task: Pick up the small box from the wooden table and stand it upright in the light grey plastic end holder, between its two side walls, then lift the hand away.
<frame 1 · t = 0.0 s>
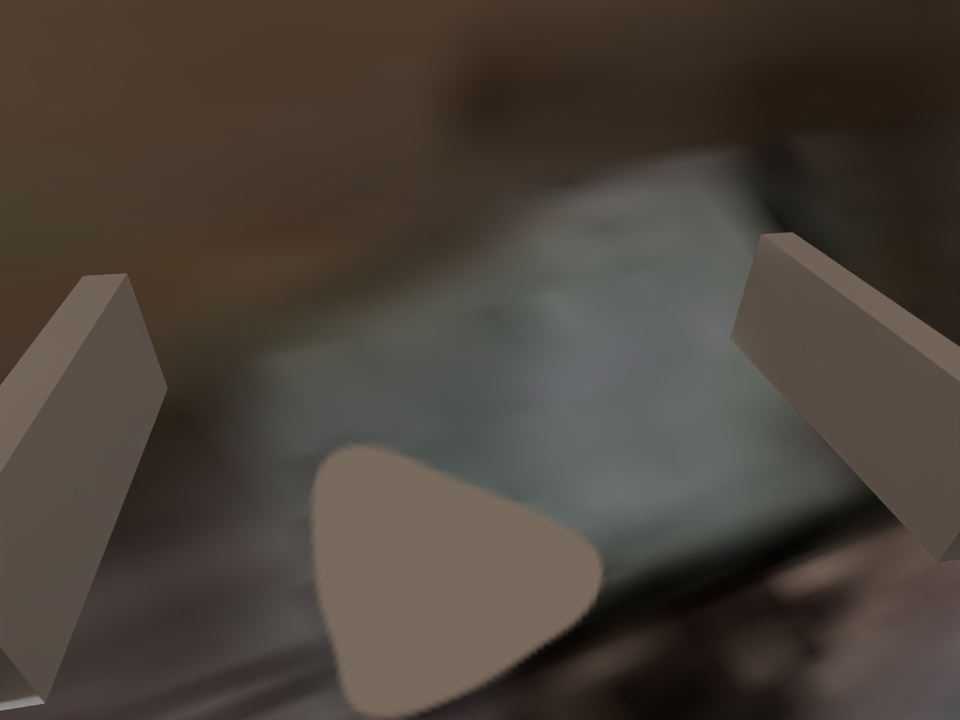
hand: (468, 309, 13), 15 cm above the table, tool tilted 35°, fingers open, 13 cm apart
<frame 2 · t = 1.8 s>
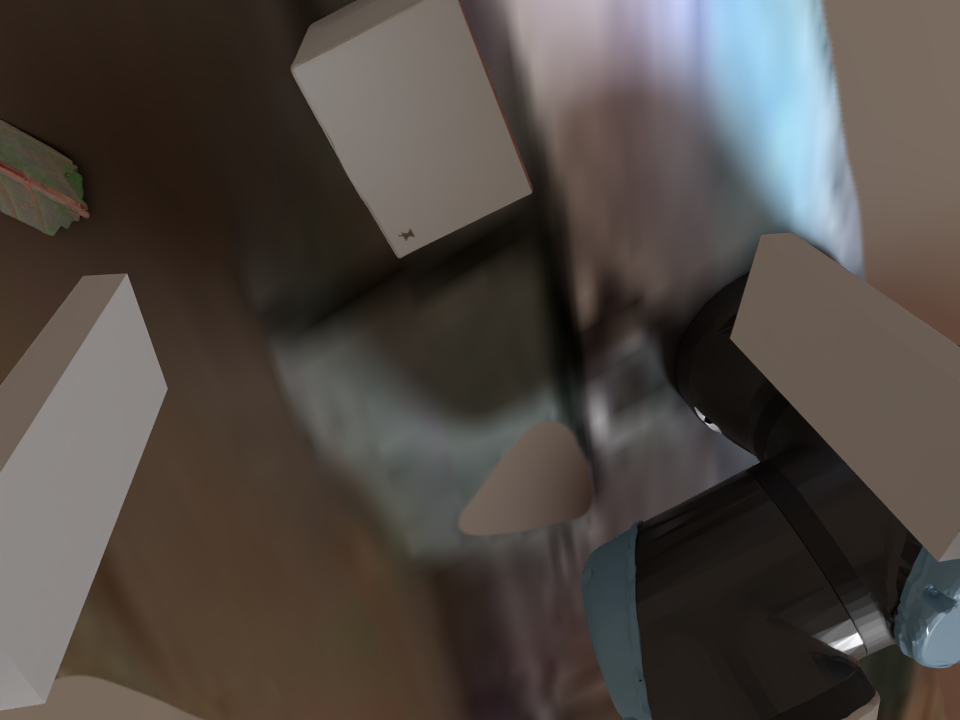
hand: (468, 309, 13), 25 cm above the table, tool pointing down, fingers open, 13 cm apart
small box: (399, 72, 33), on the table
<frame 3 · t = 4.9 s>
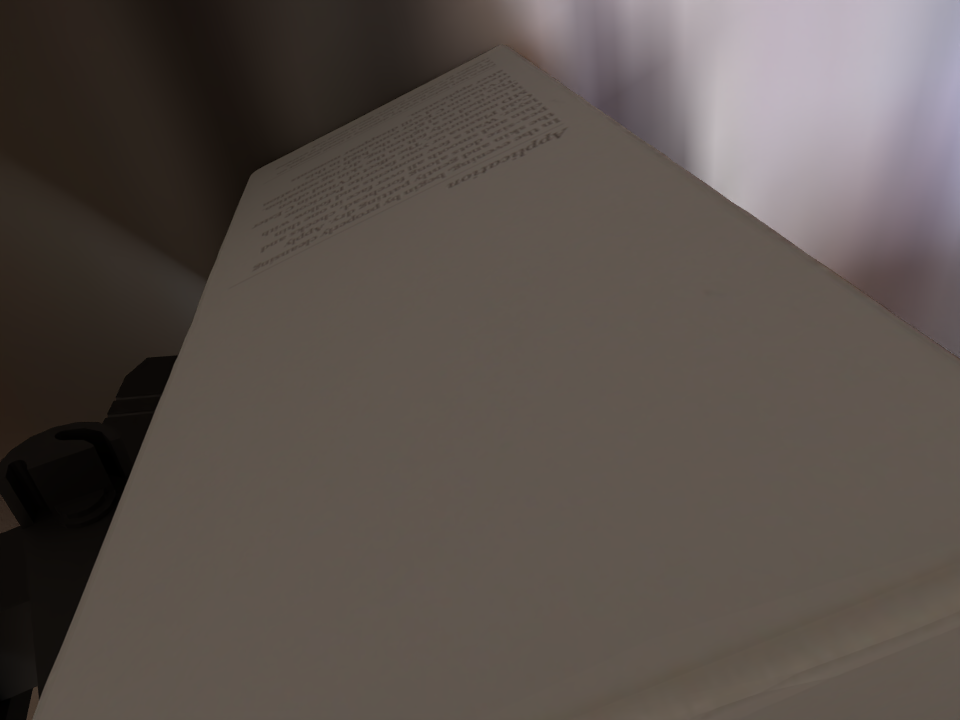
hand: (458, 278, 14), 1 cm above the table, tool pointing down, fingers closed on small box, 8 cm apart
small box: (451, 251, 16), on the table, touching gripper
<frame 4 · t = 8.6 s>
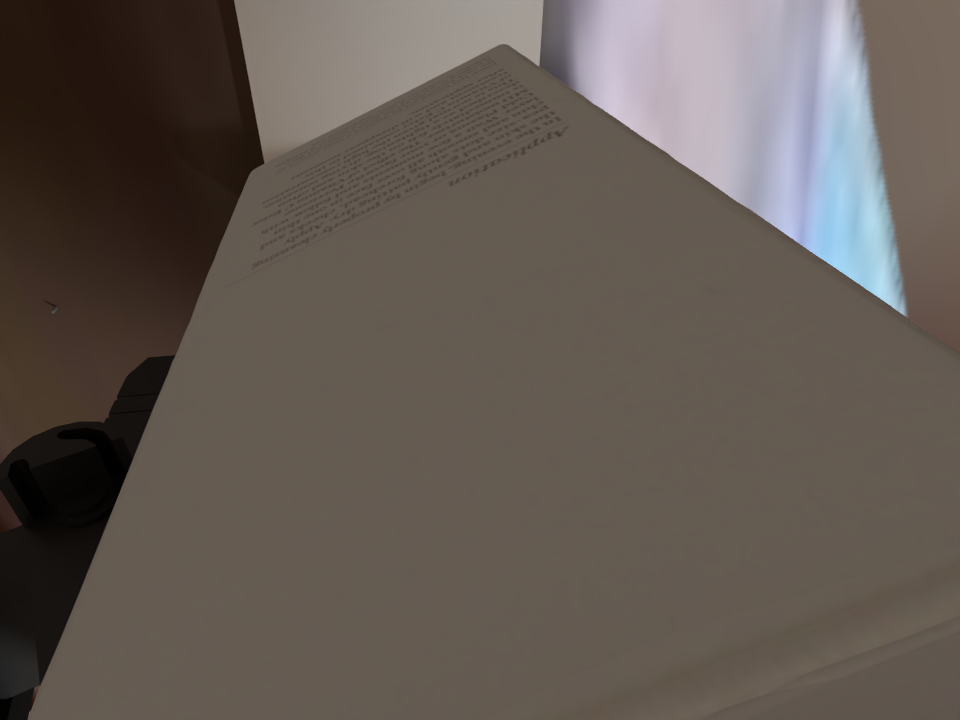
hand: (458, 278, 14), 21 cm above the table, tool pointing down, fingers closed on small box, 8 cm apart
end holder: (398, 88, 31), on the table
small box: (450, 250, 15), point 19 cm above the table, touching gripper
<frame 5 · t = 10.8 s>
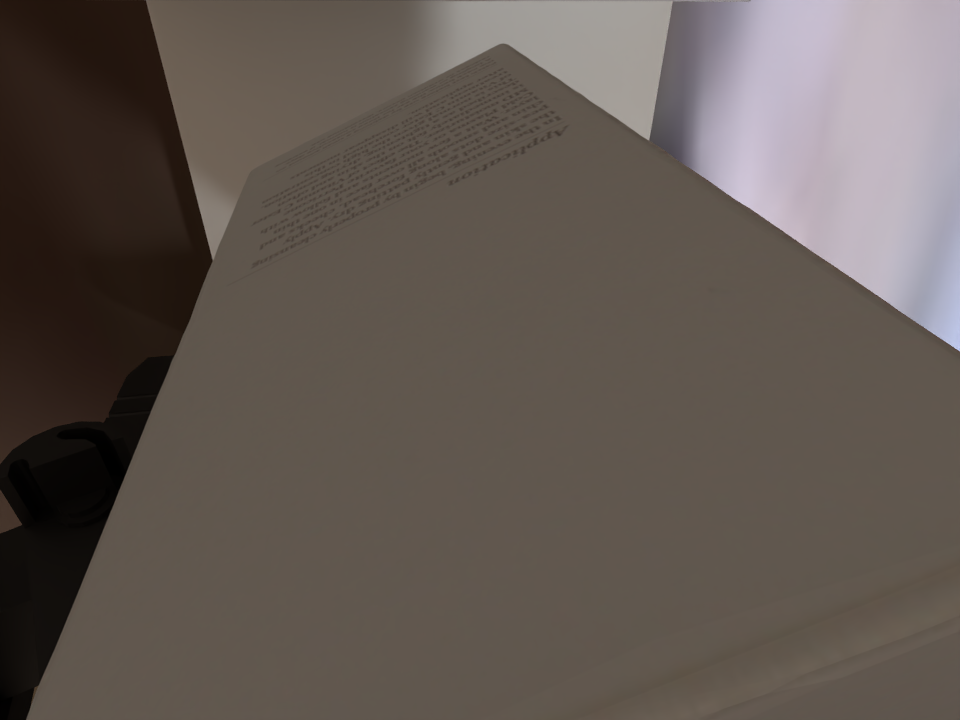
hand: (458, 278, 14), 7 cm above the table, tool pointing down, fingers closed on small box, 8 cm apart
end holder: (428, 180, 20), on the table
small box: (450, 250, 15), point 6 cm above the table, touching gripper
when the fingers open (4 cm above the table, at t = 12.4 s): small box drops 2 cm, resting on end holder.
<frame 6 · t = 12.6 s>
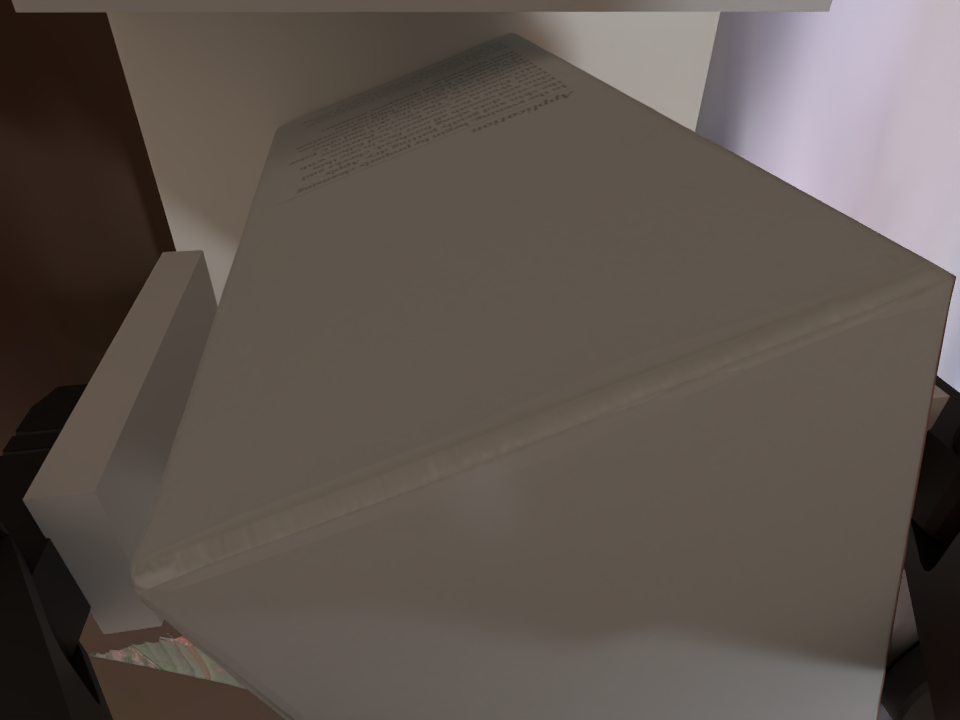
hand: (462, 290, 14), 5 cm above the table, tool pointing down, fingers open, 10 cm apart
map: (54, 600, 25), on the table
end holder: (437, 210, 18), on the table
small box: (449, 218, 17), point 1 cm above the table, touching end holder
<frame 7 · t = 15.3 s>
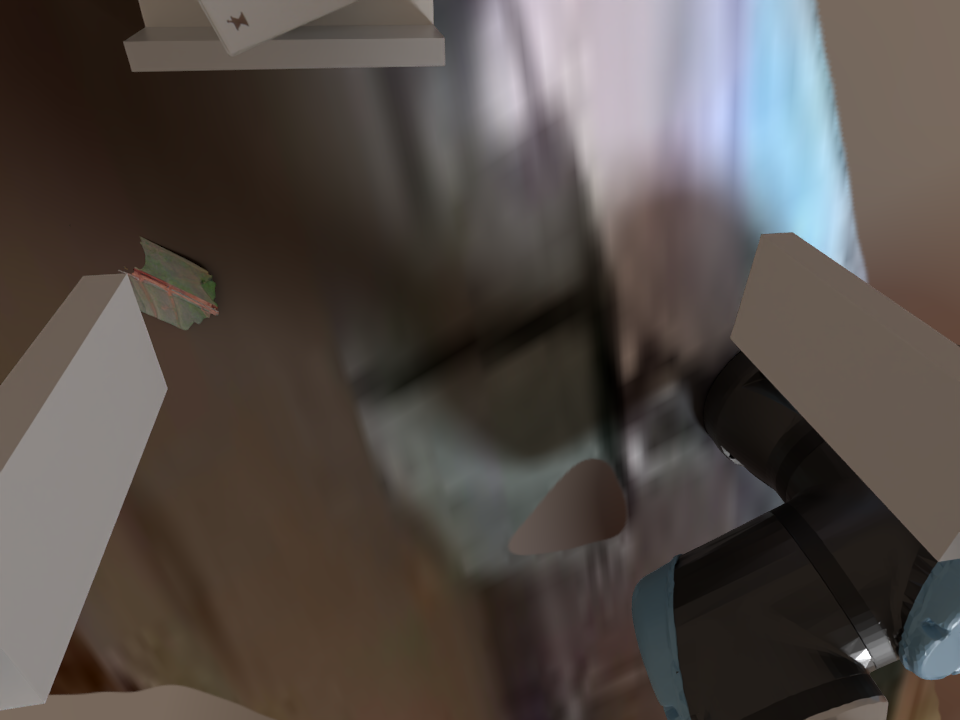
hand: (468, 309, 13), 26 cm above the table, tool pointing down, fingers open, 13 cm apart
map: (41, 227, 36), on the table
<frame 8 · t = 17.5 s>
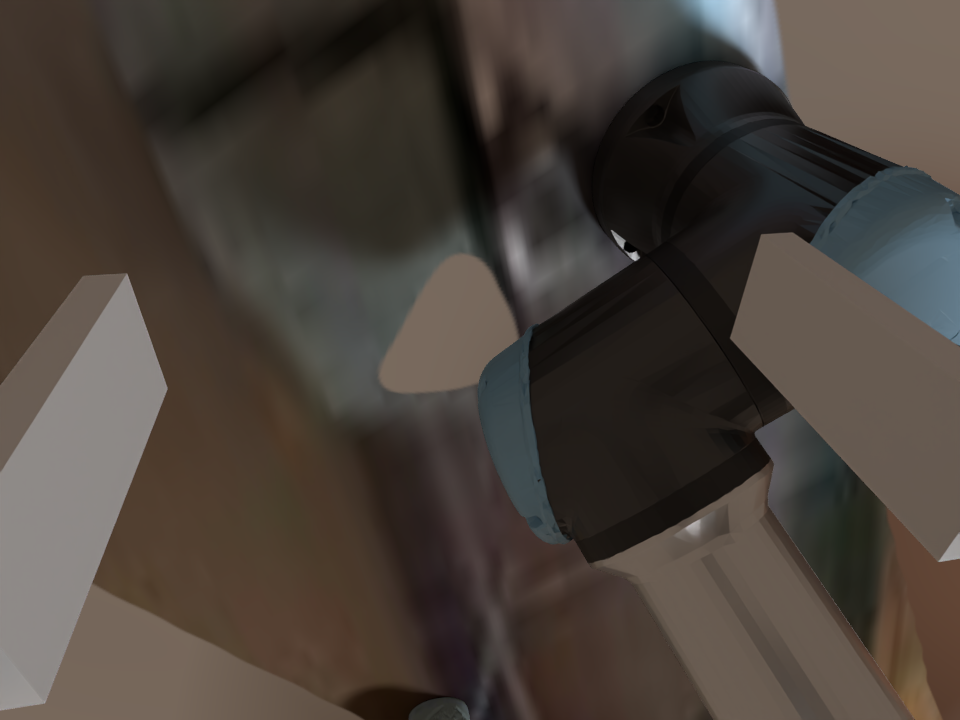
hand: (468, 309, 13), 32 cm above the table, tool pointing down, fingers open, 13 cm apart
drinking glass: (437, 710, 88), on the table
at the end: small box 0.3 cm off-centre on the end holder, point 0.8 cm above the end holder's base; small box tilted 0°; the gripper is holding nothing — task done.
